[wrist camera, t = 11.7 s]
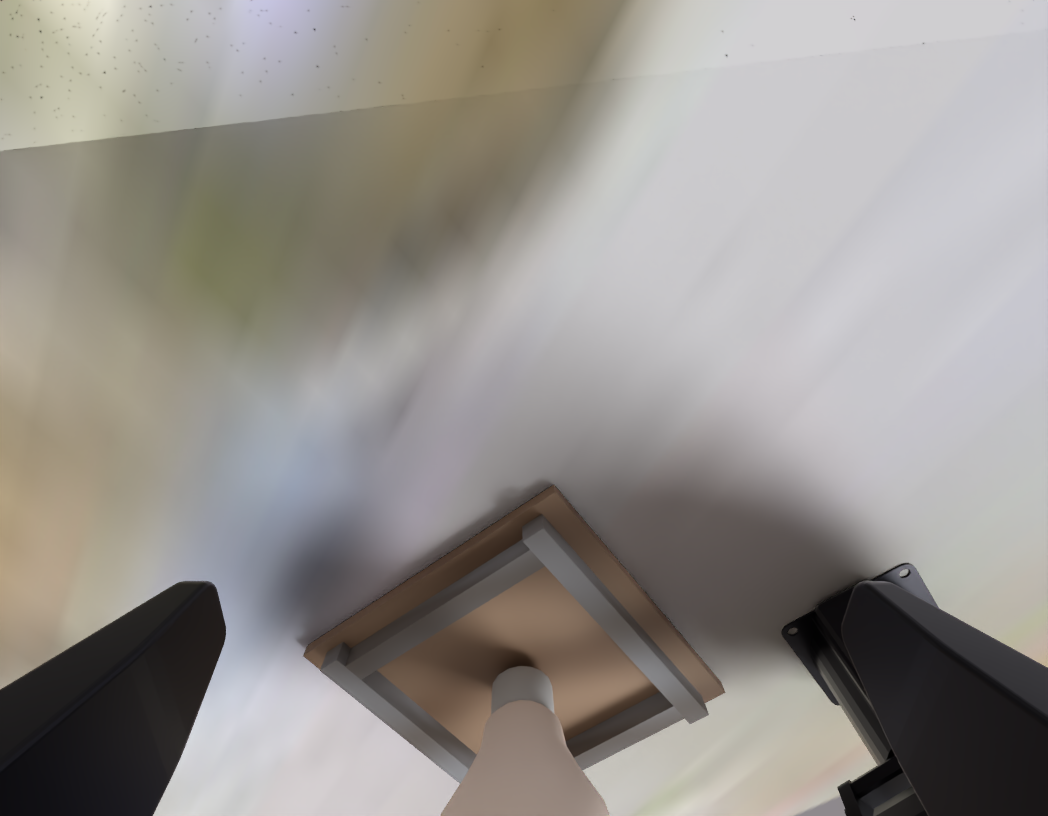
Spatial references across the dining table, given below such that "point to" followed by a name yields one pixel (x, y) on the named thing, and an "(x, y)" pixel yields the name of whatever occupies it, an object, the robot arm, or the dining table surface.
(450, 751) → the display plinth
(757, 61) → the dining table surface
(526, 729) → the light bulb
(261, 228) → the dining table surface
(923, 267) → the dining table surface
